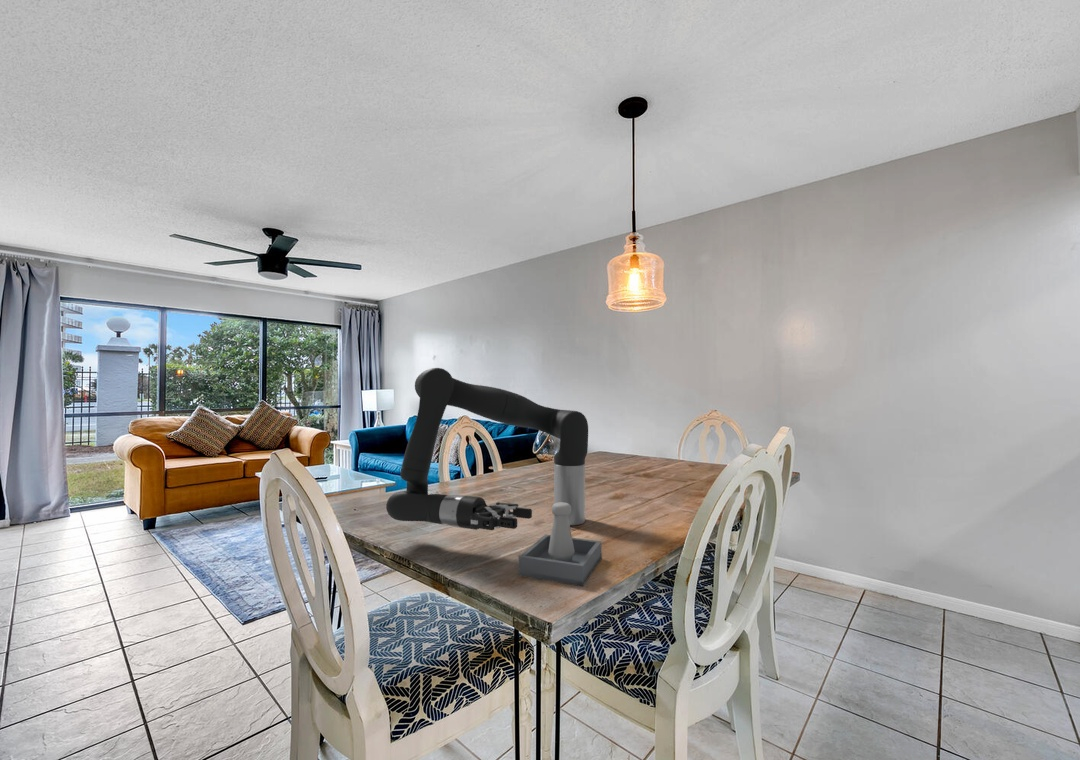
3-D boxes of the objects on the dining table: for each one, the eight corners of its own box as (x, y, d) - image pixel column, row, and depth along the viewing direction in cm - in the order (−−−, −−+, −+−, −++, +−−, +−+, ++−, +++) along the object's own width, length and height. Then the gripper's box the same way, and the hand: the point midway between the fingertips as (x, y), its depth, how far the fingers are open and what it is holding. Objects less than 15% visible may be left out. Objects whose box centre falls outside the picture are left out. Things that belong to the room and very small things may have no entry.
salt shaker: (559, 555, 104) (559, 498, 104) (579, 561, 100) (579, 502, 101) (543, 562, 99) (543, 503, 100) (563, 569, 96) (563, 508, 96)
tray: (545, 550, 110) (545, 534, 110) (601, 558, 105) (601, 541, 105) (518, 575, 95) (518, 556, 95) (582, 586, 90) (582, 566, 90)
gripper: (446, 502, 102) (511, 509, 97) (477, 490, 116) (535, 495, 110) (446, 535, 102) (511, 544, 96) (477, 519, 116) (535, 526, 110)
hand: (524, 518), depth 103 cm, fingers open, 8 cm apart
